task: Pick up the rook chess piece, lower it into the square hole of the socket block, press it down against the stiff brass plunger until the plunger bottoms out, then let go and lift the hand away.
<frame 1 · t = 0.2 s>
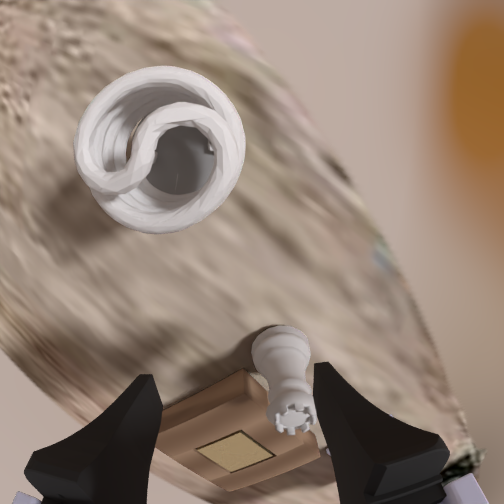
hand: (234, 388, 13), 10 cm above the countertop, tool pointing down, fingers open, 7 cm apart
rook chess piece: (279, 344, 24), on the countertop
brass plunger: (235, 449, 24), point 2 cm above the countertop, slide at 2.0 cm
socket block: (234, 430, 27), on the countertop
light bulb: (197, 149, 19), on the countertop
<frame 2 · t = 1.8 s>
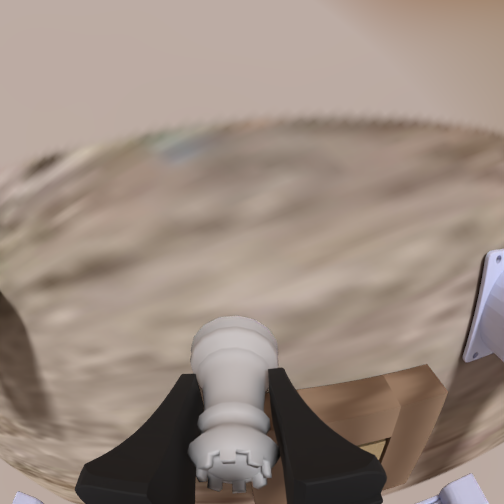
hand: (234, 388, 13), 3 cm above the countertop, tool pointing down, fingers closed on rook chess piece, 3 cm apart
rook chess piece: (234, 345, 16), on the countertop, touching gripper
brass plunger: (342, 463, 17), point 3 cm above the countertop, slide at 2.0 cm
socket block: (334, 437, 19), on the countertop
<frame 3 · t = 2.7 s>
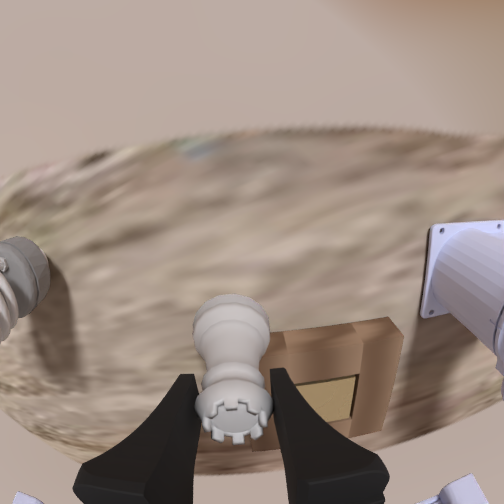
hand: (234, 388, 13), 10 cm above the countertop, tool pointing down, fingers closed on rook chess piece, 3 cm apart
rook chess piece: (231, 322, 19), point 4 cm above the countertop, touching gripper
brass plunger: (322, 399, 23), point 2 cm above the countertop, slide at 2.0 cm
socket block: (315, 380, 25), on the countertop
light bulb: (43, 257, 21), on the countertop
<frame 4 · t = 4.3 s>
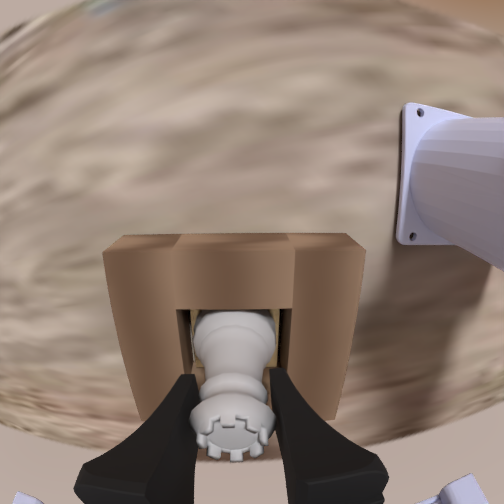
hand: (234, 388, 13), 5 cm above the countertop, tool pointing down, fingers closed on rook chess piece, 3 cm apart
rook chess piece: (234, 326, 17), point 1 cm above the countertop, touching brass plunger, gripper
brass plunger: (235, 329, 18), resting in socket block, slide at -0.1 cm, touching rook chess piece
socket block: (235, 325, 18), on the countertop
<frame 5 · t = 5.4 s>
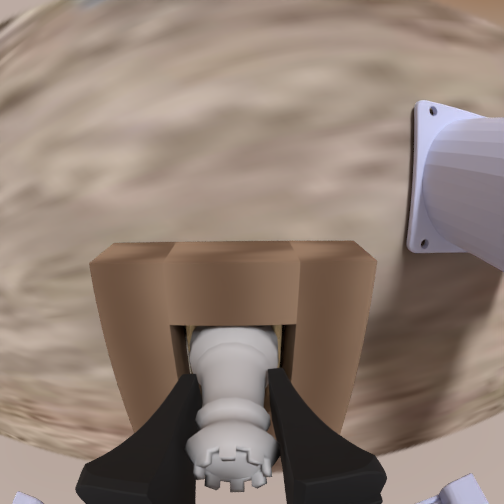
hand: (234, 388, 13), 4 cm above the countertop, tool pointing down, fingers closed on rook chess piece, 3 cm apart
rook chess piece: (234, 341, 16), point 1 cm above the countertop, touching brass plunger, gripper
brass plunger: (234, 344, 16), resting in socket block, slide at -0.1 cm, touching rook chess piece
socket block: (234, 339, 17), on the countertop
when the fingers open (4 cm above the countertop, at t = 5.8 s): rook chess piece stays where it is, resting on brass plunger.
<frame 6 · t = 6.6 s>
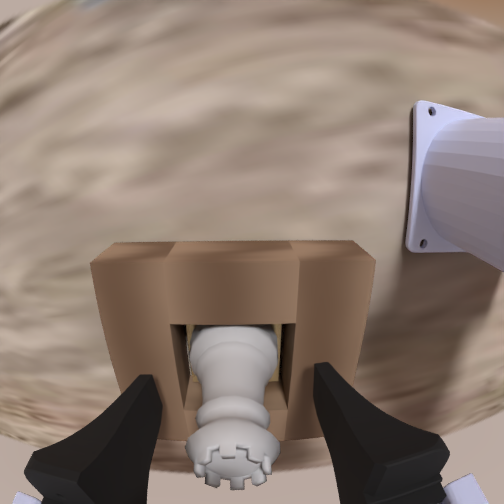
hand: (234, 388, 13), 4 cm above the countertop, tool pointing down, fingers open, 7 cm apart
rook chess piece: (233, 340, 16), point 1 cm above the countertop, touching brass plunger
brass plunger: (234, 343, 16), resting in socket block, slide at -0.1 cm, touching rook chess piece
socket block: (234, 338, 17), on the countertop
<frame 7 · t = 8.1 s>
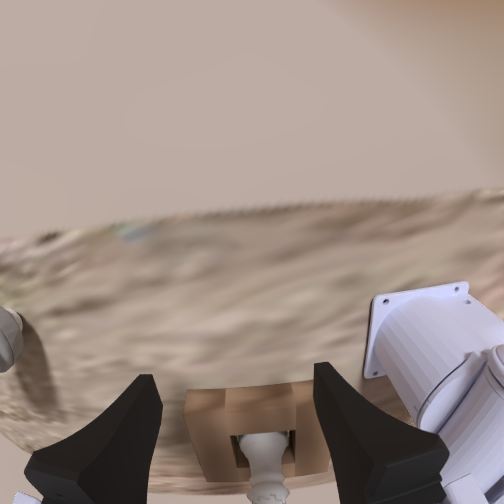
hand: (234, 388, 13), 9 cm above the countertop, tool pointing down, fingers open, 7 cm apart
rook chess piece: (262, 430, 25), point 1 cm above the countertop, touching brass plunger
brass plunger: (262, 430, 26), resting in socket block, slide at -0.1 cm, touching rook chess piece
socket block: (262, 427, 26), on the countertop
light bulb: (18, 315, 22), on the countertop
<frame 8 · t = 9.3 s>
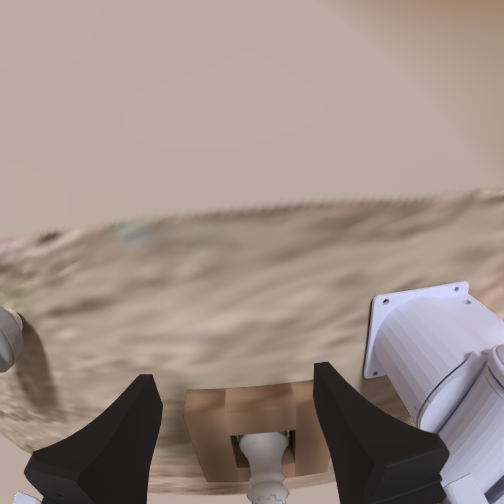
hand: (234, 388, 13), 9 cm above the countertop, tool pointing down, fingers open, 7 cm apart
rook chess piece: (262, 430, 25), point 1 cm above the countertop, touching brass plunger
brass plunger: (262, 430, 26), resting in socket block, slide at -0.1 cm, touching rook chess piece
socket block: (262, 427, 26), on the countertop
light bulb: (18, 315, 22), on the countertop
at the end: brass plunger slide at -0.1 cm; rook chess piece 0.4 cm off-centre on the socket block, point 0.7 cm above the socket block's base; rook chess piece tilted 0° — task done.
